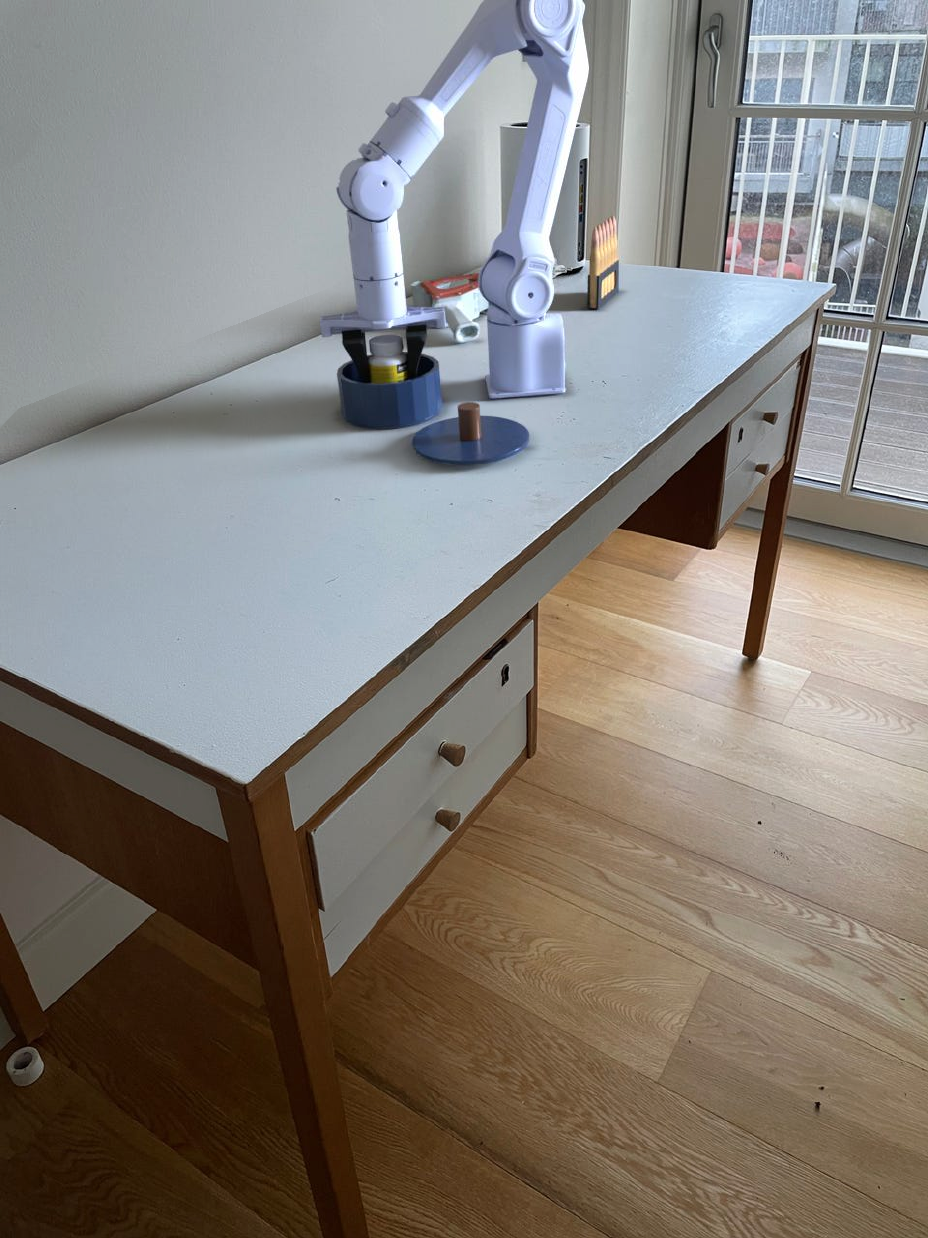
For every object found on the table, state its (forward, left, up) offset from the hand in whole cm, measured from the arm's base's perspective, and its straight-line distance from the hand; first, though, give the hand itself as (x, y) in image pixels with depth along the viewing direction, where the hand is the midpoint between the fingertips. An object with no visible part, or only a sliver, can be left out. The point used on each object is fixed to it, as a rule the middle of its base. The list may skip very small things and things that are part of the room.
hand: (390, 390), depth 119 cm
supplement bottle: (0, 0, -2) cm, 2 cm away
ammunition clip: (-33, -42, -3) cm, 53 cm away
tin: (0, 0, -3) cm, 3 cm away
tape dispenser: (-9, -36, -3) cm, 37 cm away
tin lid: (-9, +13, -2) cm, 16 cm away
